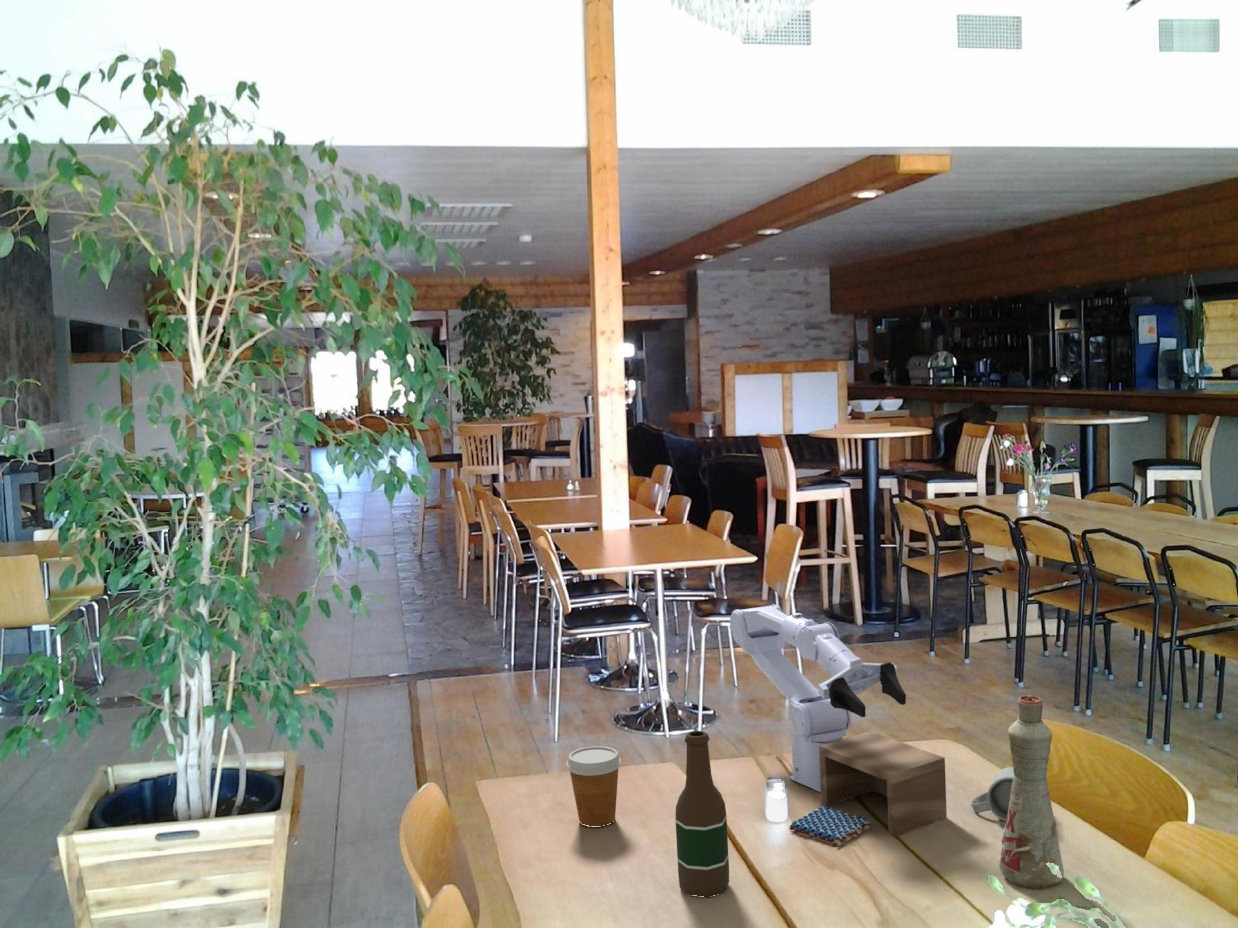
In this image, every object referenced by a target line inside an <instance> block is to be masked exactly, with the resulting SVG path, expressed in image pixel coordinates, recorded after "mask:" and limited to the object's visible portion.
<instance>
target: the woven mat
mask: <svg viewBox="0 0 1238 928" xmlns="http://www.w3.org/2000/svg"><path fill="white" fill-rule="evenodd" d="M871 823H872V822H871V821H870V819H867V818H866V817H865V816H858V815H857V814H850V813H849V812H848V811H847V812H843V811H842V810H841V809H838V810H836V809H834V807H828V806H826V805H824V804H823V806H820V807H818V808H817V809H814V810H811V811H810V812H809V813H808V814H805V815H803V816H802V817H800V818H798V819H797V820H793V821H792V822H791V824H789V831H790V830H794V831H793V833H794V834H799V835H802V836H805V837H808V838H810V839H815V840H818V841H821V842H825V843H828V844H831V845H833V846H836V847H837V846H841V845H842V844H844V843H845V842H848V841H850V839H853V838H852V837H855V838H856V837H857V838H858V835H860V834H861V833H863V832H864V830H865V831H867V830H869V829H870V828H871V827H872V826H871ZM795 832H797V833H795Z"/></svg>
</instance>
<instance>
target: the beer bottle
mask: <svg viewBox="0 0 1238 928" xmlns="http://www.w3.org/2000/svg"><path fill="white" fill-rule="evenodd" d="M710 740H711V739H710V737H709V734H708V732H705V731H703V730H694V731H689V732H687V733H686V735H685V737H684V742H685V743H686V777H685V785H684V788H683V790H682V792H681V793H680V795H679V797H678V799H677V803H676V806H675V835H676V836H675V837H676V854H677V870H678V871H677V872H678V883H679V884H678V885H679V888H680V889H681V891H683V890H684V891H685V892H686V893H685V892H684V891H683V892H684V893H685V894H687V895H688V894H689V895H697V896H704V897H710V896H713V895H716V896H718V895H717V894H720V895H722V894H721V893H723V894H724V893H725V892H726V890H727V888H728V885H729V883H730V861H729V859H730V858H729V841H728V839H729V838H728V837H729V836H728V823H727V822H728V819H727V809H726V803H725V800H724V798H723V796H722V795H723V794H722V793H721V792H720V791H719V789H718V788H717V787H716V785H715V784H714V781H713V775H712V771H711V769H712V768H711V760H710V751H709V743H708V742H709V741H710ZM689 895H688V896H689ZM713 897H714V896H713ZM710 898H711V897H710Z"/></svg>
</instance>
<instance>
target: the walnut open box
mask: <svg viewBox="0 0 1238 928" xmlns="http://www.w3.org/2000/svg"><path fill="white" fill-rule="evenodd" d="M819 758H820V782H821V792H820V803H821V805H822V804H823V806H824V805H825V806H826V807H829V806H832V805H834V804H838V803H840V802H843V801H846V800H849V799H853V798H855V797H858V796H861V795H865V794H867V793H870V792H876V793H878V794H880V795H882V796H885V797H886V798H887V818H888V821H887V822H888V826H887V827H888V834H889V835H891V836H894V837H897V836H900V835H903V834H906V833H909V832H910V831H914V830H916V829H919V828H923V827H925V826H928V825H931V824H933V823H935V822H939V821H941V820H944V819H947V818H948V817H947V816H948V815H947V790H946V789H947V786H946V785H947V784H946V757H945V756H941V755H938V754H936V753H933V752H930V751H927V750H924V749H921V748H919V747H915V746H912V745H909V744H908V743H904V742H901V741H899V740H896V739H893V738H890V737H887V736H883V735H881V734H879V733H875V732H873V731H870V730H869V731H865V732H862V733H858V734H855V735H851V736H847V737H846V738H845V737H844V738H842V739H841V740H838V741H834V742H831V743H827V744H824V745H821V746H819Z"/></svg>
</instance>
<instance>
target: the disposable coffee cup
mask: <svg viewBox="0 0 1238 928" xmlns="http://www.w3.org/2000/svg"><path fill="white" fill-rule="evenodd" d="M621 762H622V759H621V757H620V756H619V754H618V751H617V750H616V749H614V748H612V747H608V746H602V745H601V746H600V745H599V746H598V745H597V746H595V745H594V746H587V747H586V746H585V747H580V748H578V749H575V750H573V751H572V752H570V753H569V755H568V760H567V761H566V766H567V768H568V770H569V774H570V778H571V785H572V789H573V795H574V800H575V804H576V805H575V807H576V810H577V811H576V812H577V816H578V822H579V821H580V822H581V823H582V824H585V825H589V826H603V825H607V824H609V823H612V822H613V821H614V820H615V821H616V810H617V796H618V795H617V794H618V783H619V782H618V781H619V767H620V765H621ZM615 821H614V822H615ZM580 822H579V823H580ZM614 822H613V823H614ZM613 823H612V824H613Z"/></svg>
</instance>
